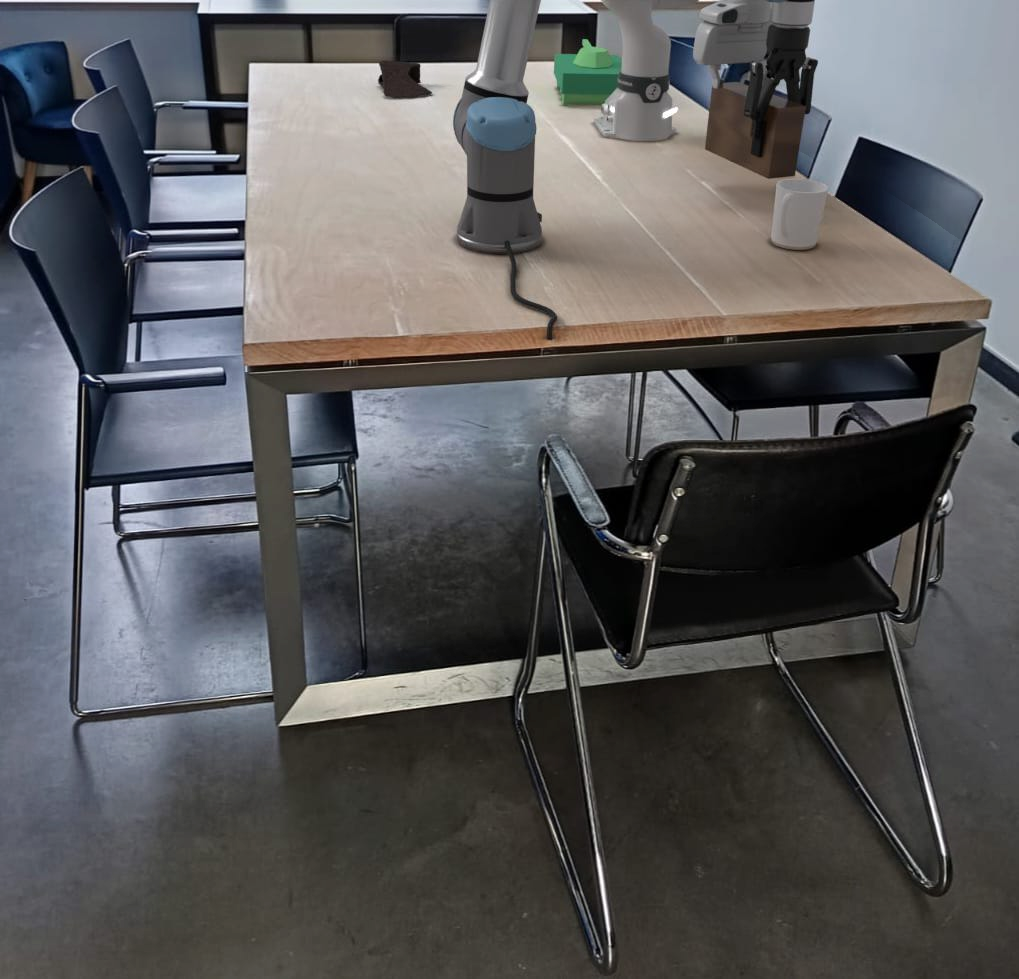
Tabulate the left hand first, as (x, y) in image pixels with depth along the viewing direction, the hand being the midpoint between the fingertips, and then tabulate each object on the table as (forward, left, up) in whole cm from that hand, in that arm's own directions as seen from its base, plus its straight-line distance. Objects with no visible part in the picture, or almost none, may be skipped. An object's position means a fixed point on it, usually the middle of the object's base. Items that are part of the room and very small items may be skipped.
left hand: (771, 153), depth 210 cm
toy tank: (+97, +41, -11) cm, 106 cm away
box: (+6, +3, -3) cm, 8 cm away
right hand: (+12, +7, +10) cm, 17 cm away
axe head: (+90, +91, -11) cm, 128 cm away
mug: (-22, -3, -11) cm, 25 cm away
